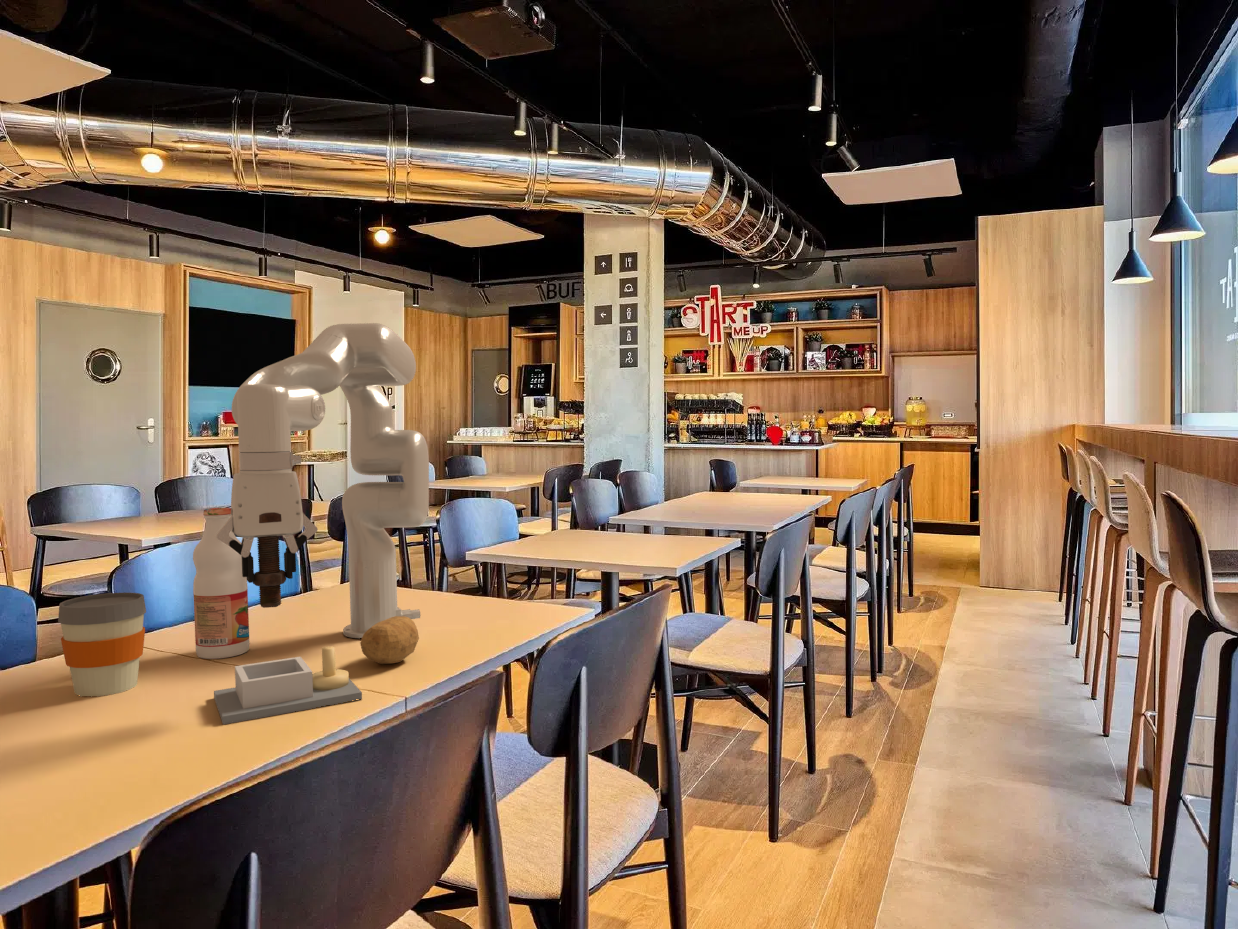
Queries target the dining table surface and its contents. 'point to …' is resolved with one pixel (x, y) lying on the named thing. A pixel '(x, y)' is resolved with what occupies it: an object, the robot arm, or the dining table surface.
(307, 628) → the dining table surface
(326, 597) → the dining table surface
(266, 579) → the bolt
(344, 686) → the board
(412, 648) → the potato
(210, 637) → the fruit juice
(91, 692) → the reusable coffee cup
